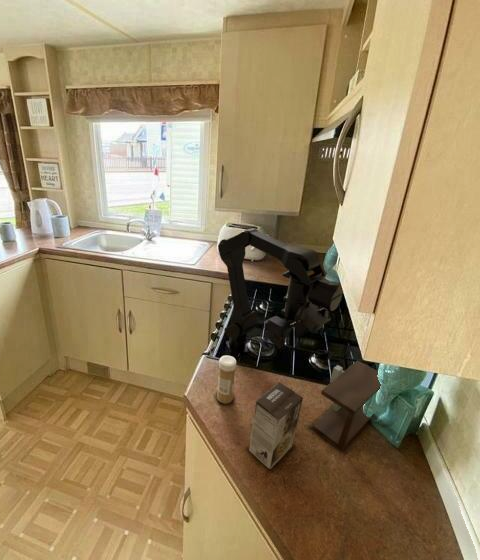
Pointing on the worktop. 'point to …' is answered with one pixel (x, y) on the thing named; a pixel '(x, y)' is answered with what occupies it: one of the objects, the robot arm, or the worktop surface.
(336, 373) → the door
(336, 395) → the dark brown angular piece
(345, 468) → the worktop surface
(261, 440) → the coffee box
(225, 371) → the sprinkles bottle
